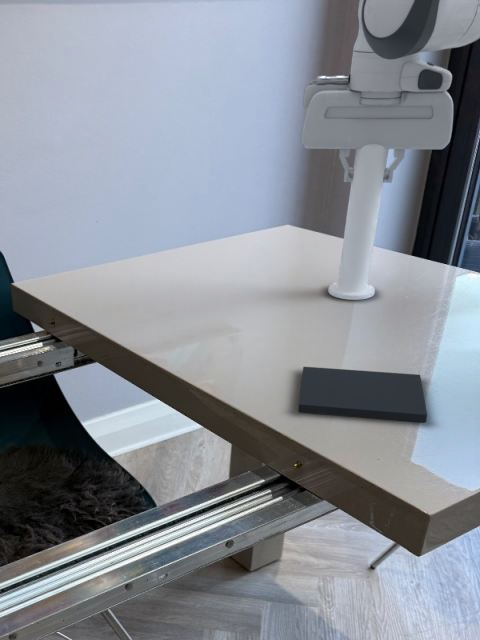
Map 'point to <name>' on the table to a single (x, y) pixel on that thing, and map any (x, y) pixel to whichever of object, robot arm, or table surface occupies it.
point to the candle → (361, 224)
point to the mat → (362, 394)
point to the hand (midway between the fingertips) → (367, 181)
